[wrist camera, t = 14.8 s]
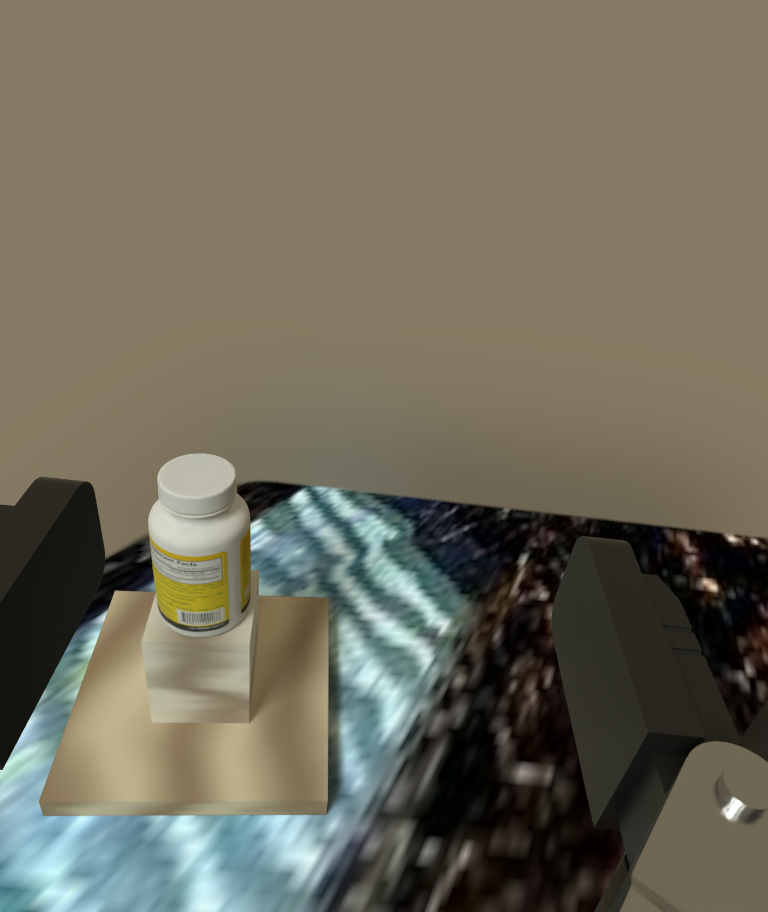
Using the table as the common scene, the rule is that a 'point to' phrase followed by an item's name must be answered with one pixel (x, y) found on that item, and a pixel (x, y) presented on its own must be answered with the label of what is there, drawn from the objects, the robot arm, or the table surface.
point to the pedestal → (199, 716)
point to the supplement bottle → (200, 546)
